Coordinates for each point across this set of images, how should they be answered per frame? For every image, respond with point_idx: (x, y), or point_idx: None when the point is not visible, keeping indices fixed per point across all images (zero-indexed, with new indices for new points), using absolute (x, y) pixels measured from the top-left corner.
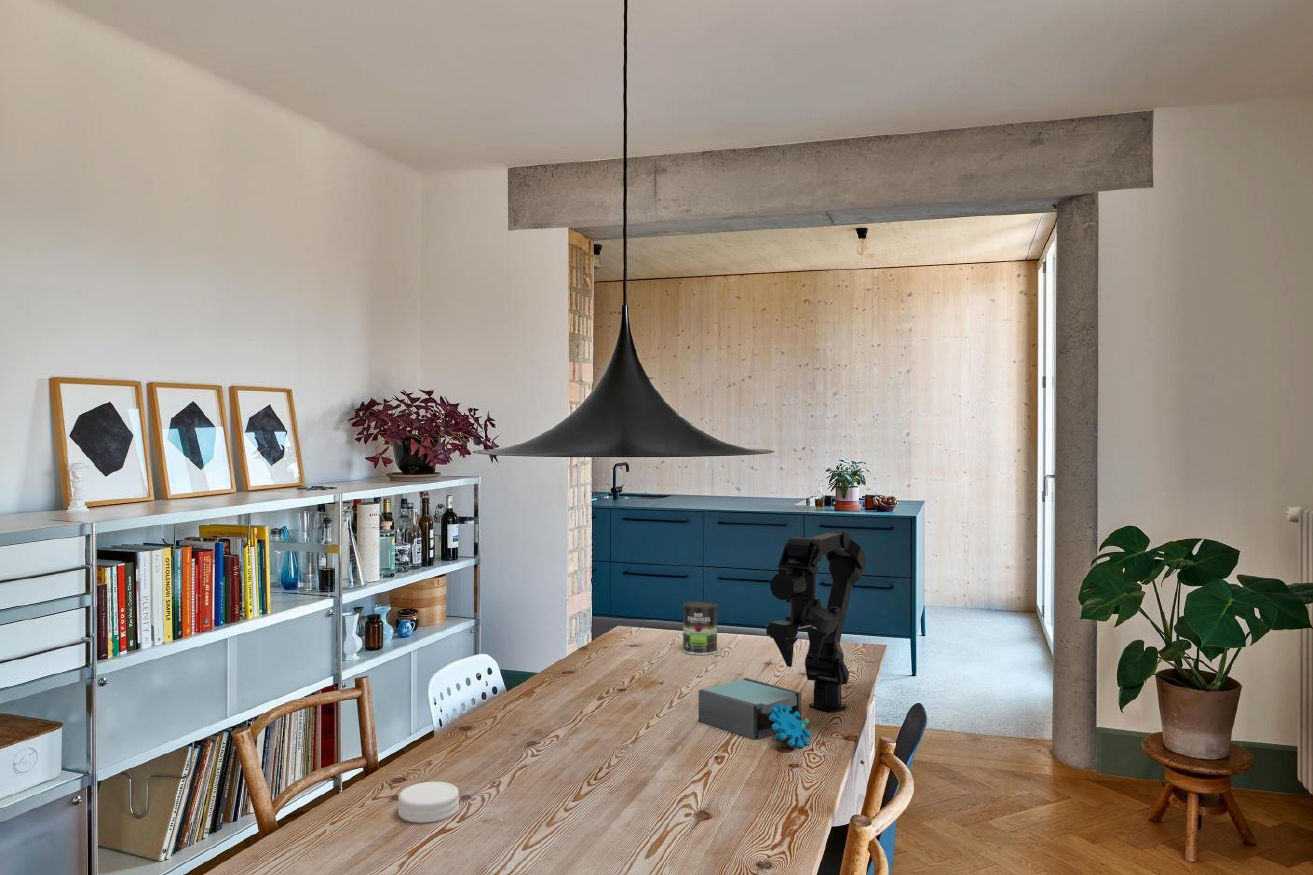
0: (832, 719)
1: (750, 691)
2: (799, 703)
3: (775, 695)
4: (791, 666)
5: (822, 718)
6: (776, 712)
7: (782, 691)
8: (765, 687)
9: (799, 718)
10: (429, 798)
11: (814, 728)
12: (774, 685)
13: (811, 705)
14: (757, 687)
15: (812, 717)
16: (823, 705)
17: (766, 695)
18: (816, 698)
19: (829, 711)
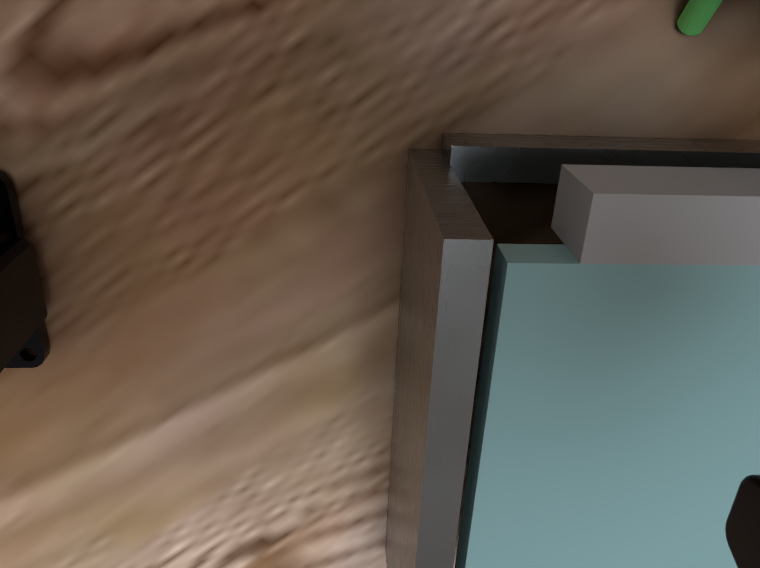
0: (121, 50)
1: (709, 529)
2: (458, 200)
3: (705, 340)
4: (758, 475)
5: (170, 124)
6: None
7: (537, 380)
8: (523, 532)
9: (438, 161)
10: None
11: (423, 8)
12: (421, 525)
13: (42, 338)
14: (566, 564)
15: (215, 191)
16: (11, 243)
17: (751, 388)
18: (16, 321)
19: (8, 178)
